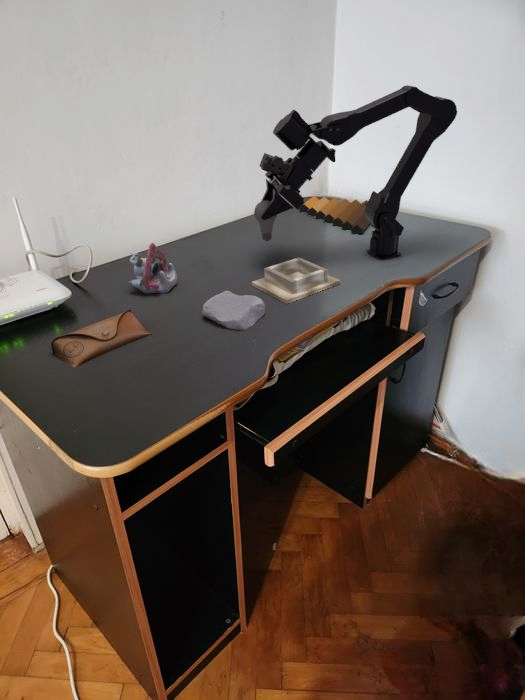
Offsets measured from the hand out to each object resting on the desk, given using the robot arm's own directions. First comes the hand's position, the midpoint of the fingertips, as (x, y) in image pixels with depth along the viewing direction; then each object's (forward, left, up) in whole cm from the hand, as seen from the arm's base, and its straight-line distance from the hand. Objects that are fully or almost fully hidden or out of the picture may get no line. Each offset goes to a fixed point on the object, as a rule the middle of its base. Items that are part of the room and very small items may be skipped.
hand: (260, 215), depth 128 cm
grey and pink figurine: (+27, -1, -14) cm, 31 cm away
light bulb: (-1, 0, -7) cm, 7 cm away
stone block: (+17, +22, -14) cm, 31 cm away
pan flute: (-36, -25, -14) cm, 46 cm away
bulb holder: (-2, +14, -13) cm, 19 cm away
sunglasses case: (+43, +20, -14) cm, 50 cm away
